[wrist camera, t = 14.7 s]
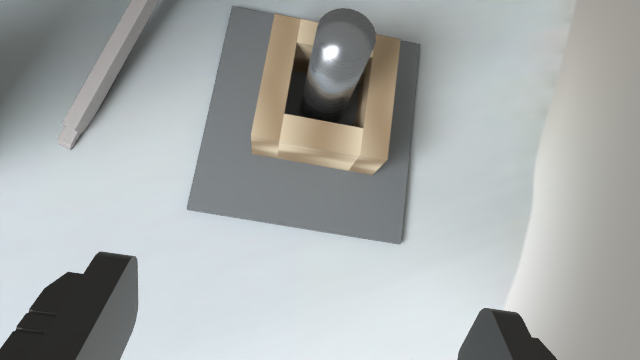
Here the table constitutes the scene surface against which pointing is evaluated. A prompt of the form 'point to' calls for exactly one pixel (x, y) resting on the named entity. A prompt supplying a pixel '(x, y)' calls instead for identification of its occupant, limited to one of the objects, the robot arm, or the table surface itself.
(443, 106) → the table surface
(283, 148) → the wooden square frame
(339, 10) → the ball
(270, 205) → the mat
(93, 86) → the caliper
